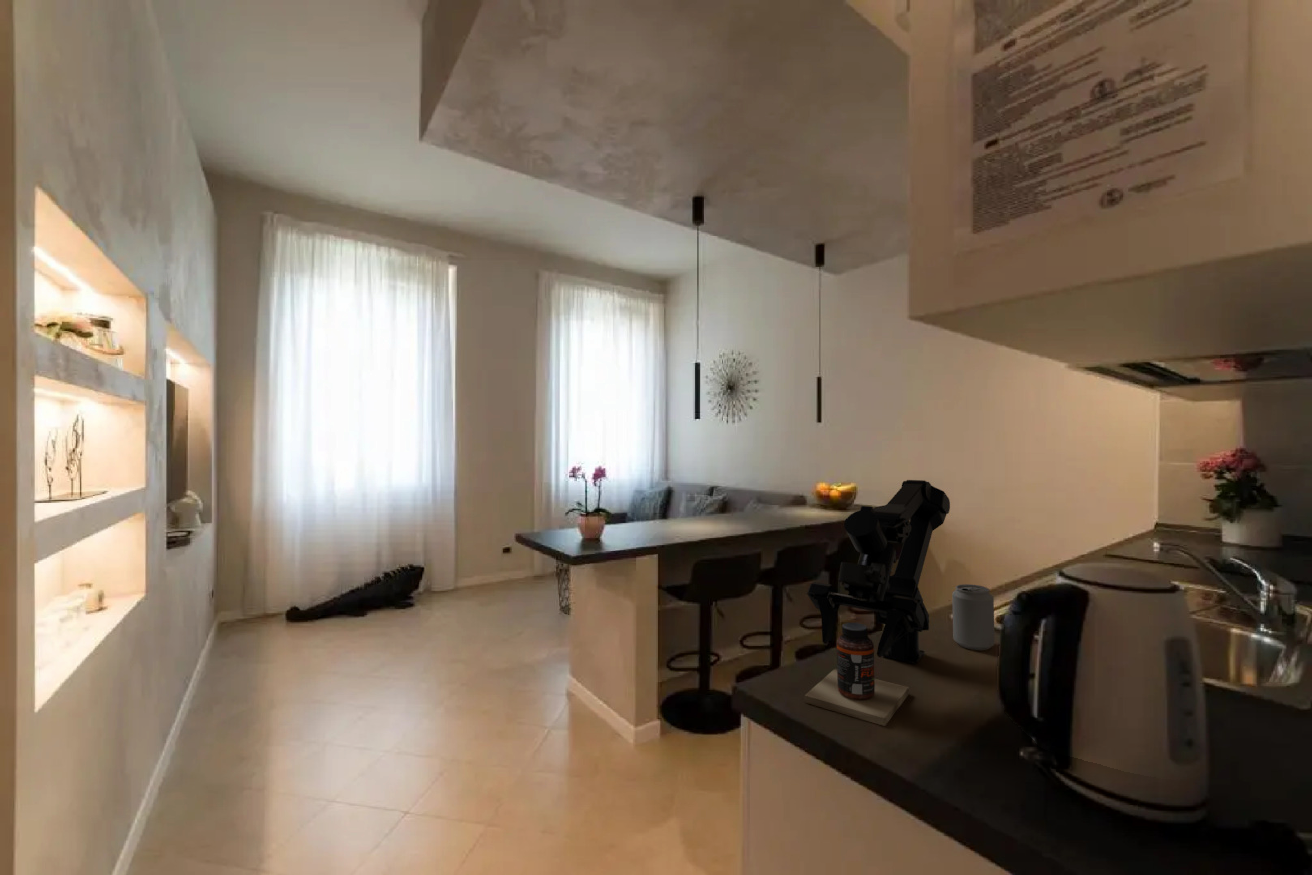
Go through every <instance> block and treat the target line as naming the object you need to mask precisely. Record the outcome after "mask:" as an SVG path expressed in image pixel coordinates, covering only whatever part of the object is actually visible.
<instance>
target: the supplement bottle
mask: <svg viewBox="0 0 1312 875" xmlns="http://www.w3.org/2000/svg"><path fill="white" fill-rule="evenodd" d="M841 627H842V628H841V632H842V635H840V636H838V637H837V639H836V669H837V681H838V691H839V692H840V693H841V694H842V695H844V696H846V697H848V698H852V699H857V700H864V699H869V698H871V697H872V696H873V695H874V692H875V682H874V679H875V646H874V642H873V640H872V639H871V638H870V637H869V636H868V635H869V633H868V627H867V625H865V624H864V623H863V624H862V623H859V622H846V623H845V622H844V623H843V624H842V626H841Z"/></svg>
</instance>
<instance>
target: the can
mask: <svg viewBox="0 0 1312 875" xmlns="http://www.w3.org/2000/svg"><path fill="white" fill-rule="evenodd" d="M990 591H991V590H990V589H989V588H988V587H986V586H984V585H983V586H982V585H977V584H971V583H964V584H963V583H962V584H958V585H956V586H955V590H954V591H953V592H952V594H951V597H952V601H951V602H952V633H953V634H952V638H953V640H954V642H956V643H957V644H958V645H959V646H960V647H962V648H965V649H969V650H973V651H987V650H989V649H991V648H992V647H993V646H995V642H996V641H995V640H996V638H995V608H994V607H995V605H994V604H995V601H994V596H993V595H992V594H991V593H990Z"/></svg>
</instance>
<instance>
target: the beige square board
mask: <svg viewBox="0 0 1312 875" xmlns="http://www.w3.org/2000/svg"><path fill="white" fill-rule="evenodd" d="M874 682H875V692H874V695H873V696H872V697H871V698H869V699H864V700H857V699H852V698H848V697H846V696H844V695H842V694H841V693H840V692H839V691H838V681H837V668H834V669H832V671H830V672H829V673H828V674H827V675H825V677H824V678H823V679H821V680H820V681H819V682H818V683H817V684H815V686H813V687H812V688H811V689H810V690H809V691H807V693H805V695H804V703H806V704H809V705H812V706H816V707H819V708H822V709H826V710H830V711H833V712H836V713H839V714H841V715H842V714H843V715H846V716H849V717H853V718H855V719H859V720H862V721H866V722H869V723H873V724H876V725H880V726H883V727H885V726H886V725H887V724H888V723H889V721H890V720H891V719H892V717H893V716H894V715H895V713H896V712H897V711H898V709H899V708H900V707H901V706H902V705H903V703H904V701H905V700H906V699H907V698H908V696H909V695H910V687H909V686H905V685H902V684H901V685H900V684H897V683H893V682H891V681H890V682H889V681H885V680H882V679H877V678H874Z"/></svg>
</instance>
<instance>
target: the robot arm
mask: <svg viewBox="0 0 1312 875" xmlns="http://www.w3.org/2000/svg"><path fill="white" fill-rule="evenodd" d="M950 501H951V500H950V498H949V497H948V495H947V494H946V492H945V491H944V490H941V489H940V488H937V487H935V486H934V485H932V484H931V483H930V482H929V481H926V480H925V479H924V480H922V479H921V480H917V479H907V480H904V481H903V482H902V483H901V487H900V488H899V490H898V491H897V492H896V493H895V494H894V495H893V497H892V498H891V499H890V500H889V501H888V502H887V503H886V504H884V505H880V506H875V507H874V508H873V506H867V505H865V506H864V505H861V506H860V509H859V510H858V511H855V512H853V513H851V514H849V516H847V518H845V520H844V523H843V527H844V530H845V531H846V533H847V536H848V537H849V540H850V541H851V543H852V545H853V547H854V550H856V551H857V552H858V553H860V555H859V557H858V561H857V563H851V562H844V561H842V562H840V567H839V573H838V579H837V580H838V582H843V583H844V584H843V589H844V591H847V592H848V593H847V594H843V593H838V592H837V591H836V589H835V586H833V584H829V583H823V582H817V581H814V582H812V583H810V585H808V586H809V587H808V588H807V592H806V594H807V596H808V598H809V599H810V600H811V602H812V604H813V605H814V607H815V608H816V609H818V611H819V613H820V617H821V619H820V620H821V621H820V622H821V633H822V634H821V635H822V636H821V640H822V641H821V642H822V643H823V645H827V644H828V642H829V640H830V638H831V636H832V633H833V631H834V628H835V624H836V622H837V619H838V617H839V614H838V613H837V611H838V610H839V608H840V606H842V607H843V606H844V607H850V608H854V609H859V610H865V611H871V612H875V616H876V623H877V624H879V625H880V624H883V625H884V627H883V630H882V632H881V636H880V638H879V642H878V646H877V650H876V656H877V657H878V658H882V657H883V658H889V659H893V660H897V661H898V660H899V661H902V662H907V663H911V664H918V662H919V661H920V660H921V659H922V657H924V655H925V652H926V651H925V650H922V649H920V642H919V641H920V640H919V637H920V636H919V633H922V632H923V631H929V630H930V625H929V624H930V614H929V612H928V609H927V608H926V605H925V604H924V599H923V597H922V594H921V592H920V589H919V584H920V583H919V582H920V580H921V575H922V572H923V567H924V564H925V560H926V558H927V557H926V556H927V552H928V549H929V546H930V542H931V538H932V536H933V532H934V530H936V529H938V528H939V527H941V526H942V525H943V524H944V523H945V520H946V517H947V514H949V513H950V510H951V502H950ZM891 543H896V544H902V547H901V550H900V552H899V553H900V554H899V557H898V559H897V554H896V553H897V551H896V549H895V547H894V545H893V544H891ZM897 560H898V561H897ZM894 564H896V567H895V570H894V573H893V574H892V575H891V573H892V569H893V566H894Z"/></svg>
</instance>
